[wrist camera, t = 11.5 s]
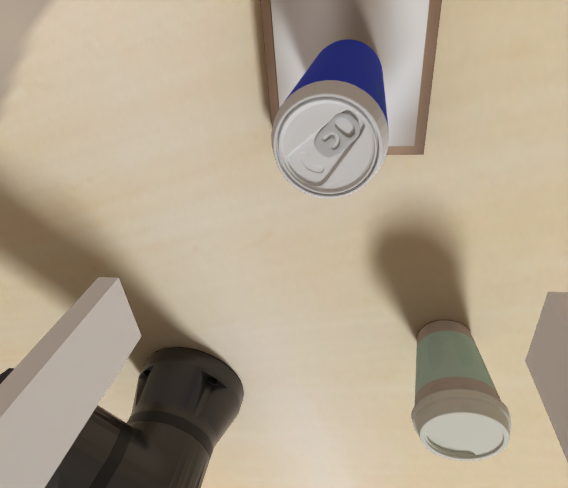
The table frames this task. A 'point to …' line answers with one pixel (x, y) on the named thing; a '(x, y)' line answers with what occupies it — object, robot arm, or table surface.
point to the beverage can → (334, 123)
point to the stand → (371, 31)
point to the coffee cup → (456, 396)
